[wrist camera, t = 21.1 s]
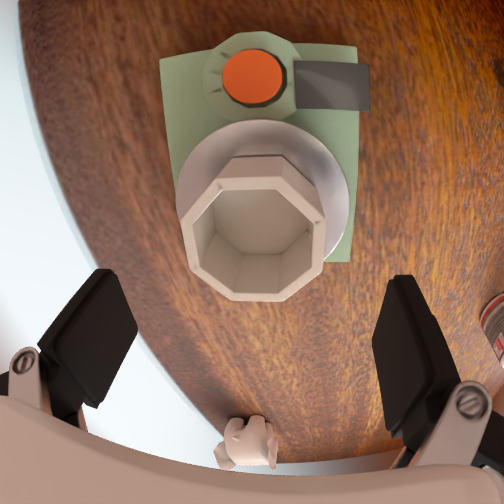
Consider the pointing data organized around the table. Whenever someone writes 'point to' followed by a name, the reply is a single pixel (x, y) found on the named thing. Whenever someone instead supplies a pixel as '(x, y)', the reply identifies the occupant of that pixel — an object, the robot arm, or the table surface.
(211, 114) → the scale
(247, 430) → the elephant figurine
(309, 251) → the bowl
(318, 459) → the table surface
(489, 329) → the pill bottle
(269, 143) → the scale pan
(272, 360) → the table surface
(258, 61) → the tare button
